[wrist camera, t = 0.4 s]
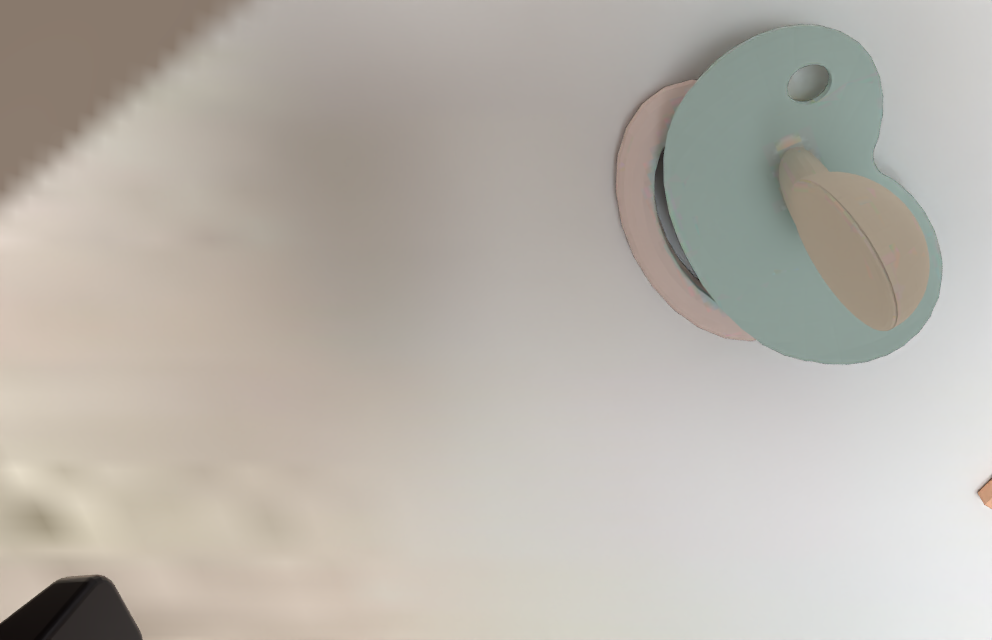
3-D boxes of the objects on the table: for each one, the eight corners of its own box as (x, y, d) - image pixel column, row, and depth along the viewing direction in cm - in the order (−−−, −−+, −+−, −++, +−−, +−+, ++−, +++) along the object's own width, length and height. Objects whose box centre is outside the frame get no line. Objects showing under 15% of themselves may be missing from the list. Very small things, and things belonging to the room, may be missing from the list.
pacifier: (694, 369, 23) (942, 278, 21) (711, 531, 17) (1050, 427, 15) (565, 105, 20) (832, -25, 18) (537, 196, 15) (915, 22, 13)
